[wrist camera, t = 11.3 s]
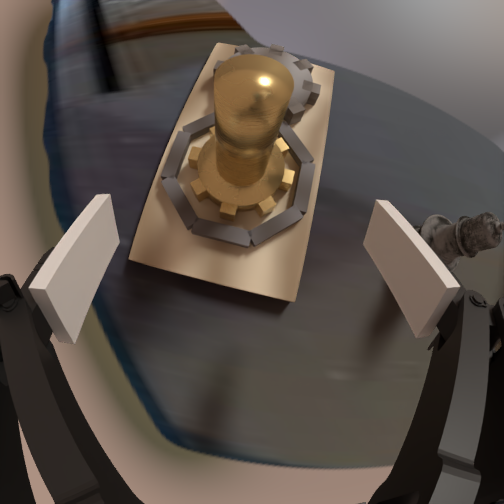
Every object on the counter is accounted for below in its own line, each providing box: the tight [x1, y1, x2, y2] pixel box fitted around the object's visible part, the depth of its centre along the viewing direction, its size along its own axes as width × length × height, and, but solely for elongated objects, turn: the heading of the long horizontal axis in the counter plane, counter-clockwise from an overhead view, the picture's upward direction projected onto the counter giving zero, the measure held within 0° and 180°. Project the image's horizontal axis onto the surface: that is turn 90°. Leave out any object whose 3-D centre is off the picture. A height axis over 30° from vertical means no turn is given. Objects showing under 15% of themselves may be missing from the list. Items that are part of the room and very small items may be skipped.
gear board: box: [129, 43, 335, 302], centre depth 24 cm, size 14×26×4 cm, turn 166°
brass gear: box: [188, 54, 295, 221], centre depth 18 cm, size 9×9×12 cm
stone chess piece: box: [413, 212, 504, 271], centre depth 21 cm, size 6×6×12 cm
